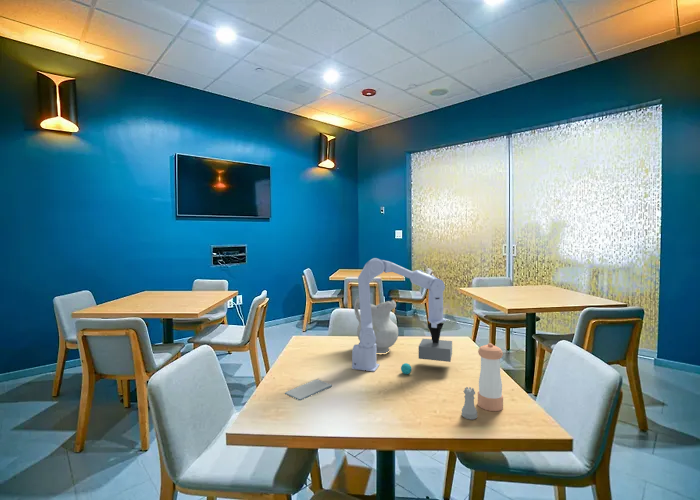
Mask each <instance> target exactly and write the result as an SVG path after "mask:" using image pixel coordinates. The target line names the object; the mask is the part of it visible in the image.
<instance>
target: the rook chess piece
mask: <svg viewBox="0 0 700 500" xmlns="http://www.w3.org/2000/svg"><path fill="white" fill-rule="evenodd" d="M463 393H464V405H463V406H462V408H461V413H460V414H461V416H462V417H463V418H464V419H465V420H475V419H477V418H478V411H477V408H476V407H475V406H476V405H475V395H476V391H475V389H474V388H473V387H470V386H469V387H468V386H466V387H464V390H463Z"/></svg>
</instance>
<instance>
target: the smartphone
mask: <svg viewBox="0 0 700 500" xmlns="http://www.w3.org/2000/svg"><path fill="white" fill-rule="evenodd" d="M330 388H332V384H331V383H328V382H326V381H322V380H320V379H319V378H317V379H313V380H311V381H308V382H306V383H304V384H301V385H299V386H296V387H295V388H292V389H290V390H288V391H285V392H284V394H285V395H286V394H287V395H286V396H288V395H289V397H290V396H291V398H293V397H294V398H293V399H295V398H296V399H295V400H297V399H298V400H297V401H302V399H303V400H304V398H305V399H307V398H309V396H310V397H312V396H314V395H316V393H317V394H319V393H321V392H324V391H326V390H327V389H330ZM325 389H326V390H325ZM318 392H319V393H318ZM311 395H312V396H311Z"/></svg>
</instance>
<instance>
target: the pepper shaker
mask: <svg viewBox="0 0 700 500" xmlns="http://www.w3.org/2000/svg"><path fill="white" fill-rule="evenodd" d="M477 353H478V355H479V357H480V373H479V378H478V392H477V407H479V408H481V409H483V410H484V411H488V412H489V411H490V412H500V411H502V410H503V409H504V395H503V391H502V390H503V382H502V375H501V359H502V358H503V355H504V353H503V350H502V348H500V347H499V346H497V345H494V344H493V343H491V342H489V343H487V344H484V345H481V346H480V347H479V348H478V350H477Z"/></svg>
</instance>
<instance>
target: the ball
mask: <svg viewBox="0 0 700 500" xmlns="http://www.w3.org/2000/svg"><path fill="white" fill-rule="evenodd" d="M412 369H413V368H412V366H411V365H410V363H407V362H406V363H402V365H401V366H400V371H401V372H402V374H404V375H409V374H411V373H412Z"/></svg>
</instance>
